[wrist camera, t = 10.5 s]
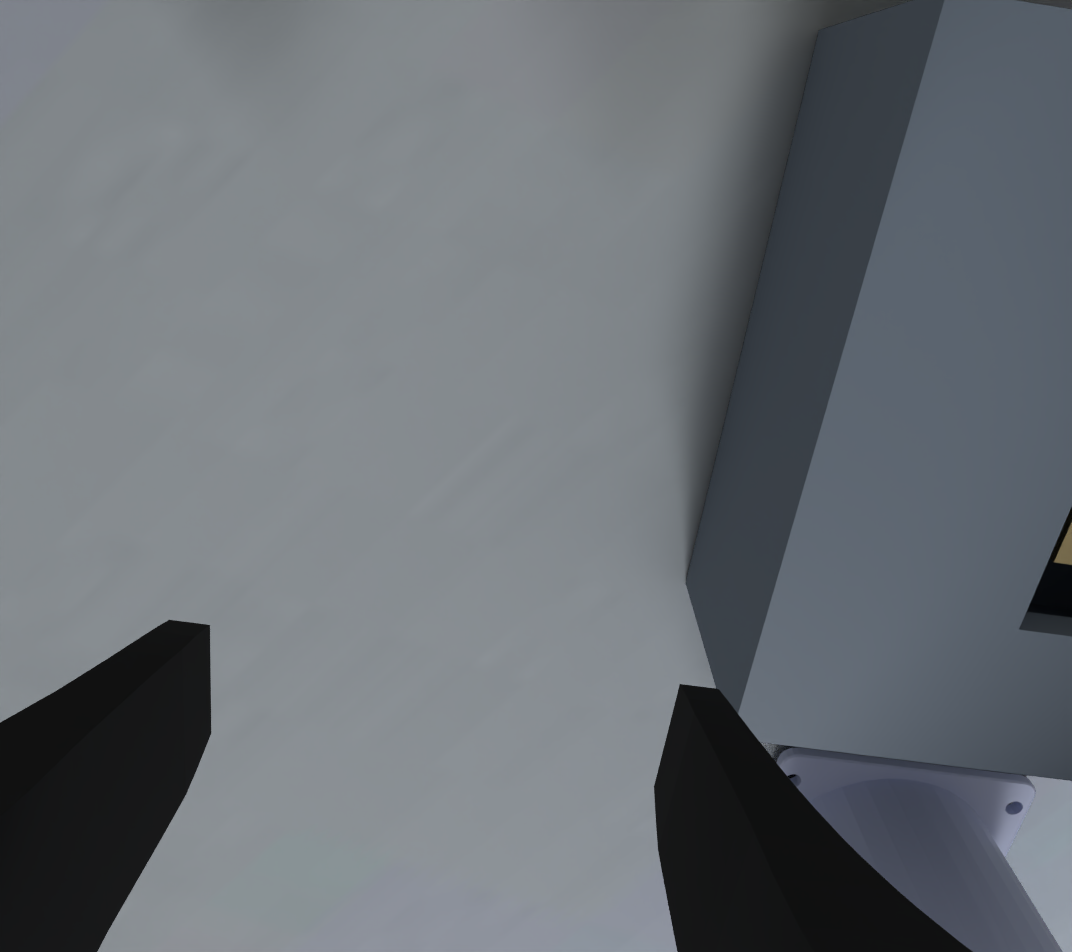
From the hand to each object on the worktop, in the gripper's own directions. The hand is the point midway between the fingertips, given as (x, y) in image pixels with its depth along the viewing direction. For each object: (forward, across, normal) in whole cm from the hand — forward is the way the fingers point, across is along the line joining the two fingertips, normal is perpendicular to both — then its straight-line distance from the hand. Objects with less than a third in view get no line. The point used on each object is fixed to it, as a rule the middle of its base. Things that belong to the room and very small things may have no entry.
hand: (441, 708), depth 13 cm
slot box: (+10, -13, -4) cm, 17 cm away
